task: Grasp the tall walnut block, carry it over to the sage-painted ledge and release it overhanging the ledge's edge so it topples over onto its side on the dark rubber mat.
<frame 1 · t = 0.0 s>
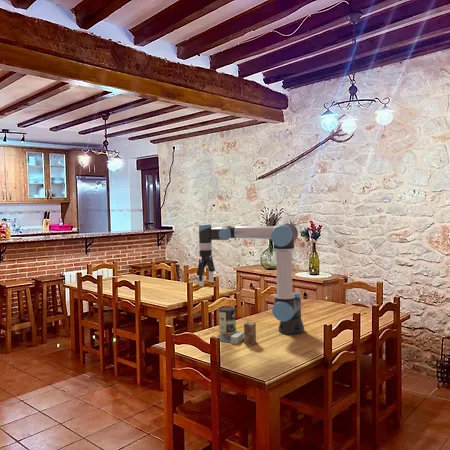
hand: (206, 284, 265), 28 cm above the table, fingers open, 13 cm apart
rubber mat: (224, 339, 247), on the table
coffee can: (227, 331, 261), on the table
walnut block: (250, 342, 240), on the table
sage ledge: (237, 340, 244), on the table
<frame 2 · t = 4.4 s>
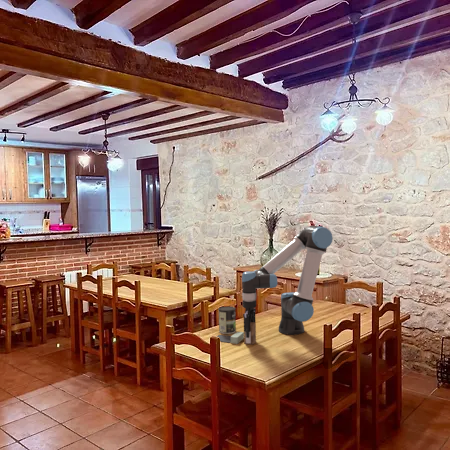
hand: (250, 341, 240), 1 cm above the table, fingers closed on walnut block, 5 cm apart
walnut block: (250, 342, 240), on the table, touching gripper
everything else where it was.
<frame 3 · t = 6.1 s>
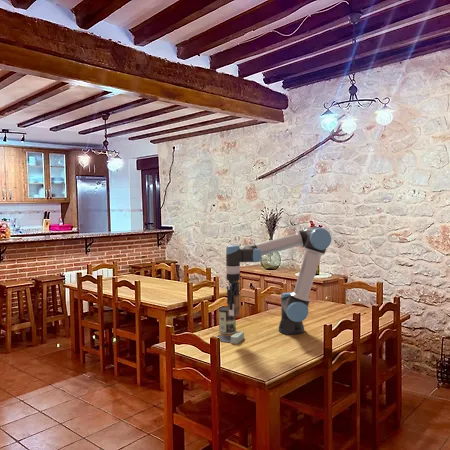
hand: (233, 313, 243), 15 cm above the table, fingers closed on walnut block, 5 cm apart
walnut block: (233, 315, 243), point 14 cm above the table, touching gripper
everything else where it was.
when the fingers open (5 cm above the table, at t = 8.3 s): walnut block drops 2 cm and tips over, resting on rubber mat.
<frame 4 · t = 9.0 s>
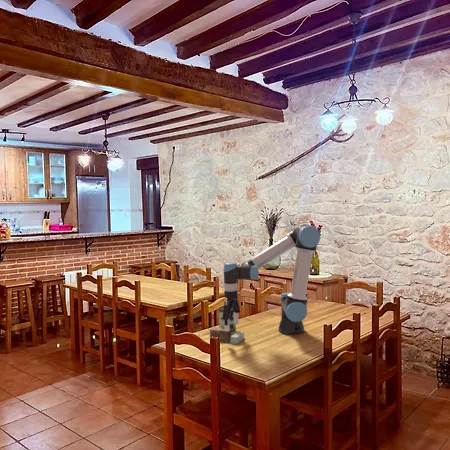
hand: (231, 327, 245), 7 cm above the table, fingers open, 13 cm apart
walnut block: (229, 334, 246), point 3 cm above the table, tilted 90°, touching rubber mat
everything else where it was.
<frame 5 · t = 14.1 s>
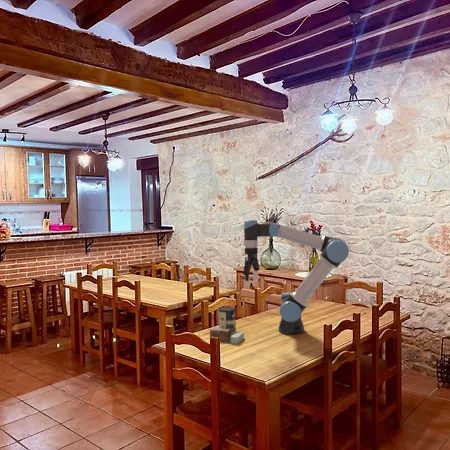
hand: (251, 284, 248), 31 cm above the table, fingers open, 13 cm apart
nothing on the table moved.
at the end: walnut block tilted 90°; walnut block inside the target area (6.1 cm from its centre), point 2.9 cm above the table; the gripper is holding nothing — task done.
